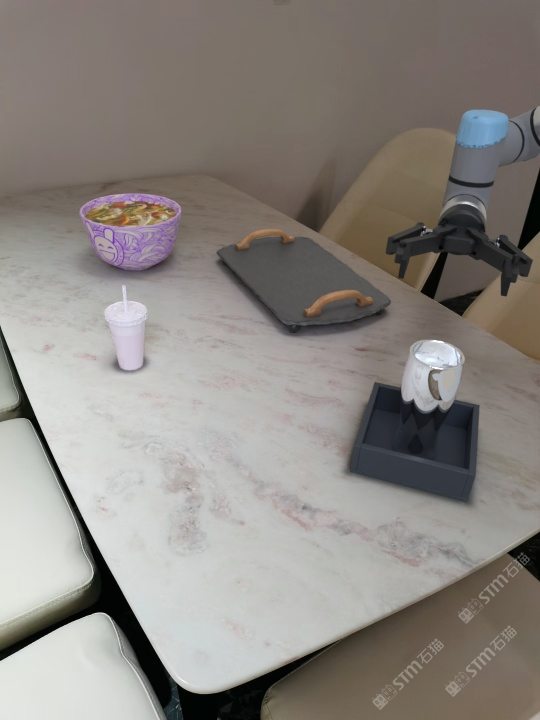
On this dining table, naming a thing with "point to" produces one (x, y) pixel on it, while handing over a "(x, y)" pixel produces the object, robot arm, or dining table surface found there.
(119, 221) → the bowl of food
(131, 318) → the smoothie
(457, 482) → the slate grey square tray
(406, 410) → the beer glass
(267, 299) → the serving tray
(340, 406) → the dining table surface
